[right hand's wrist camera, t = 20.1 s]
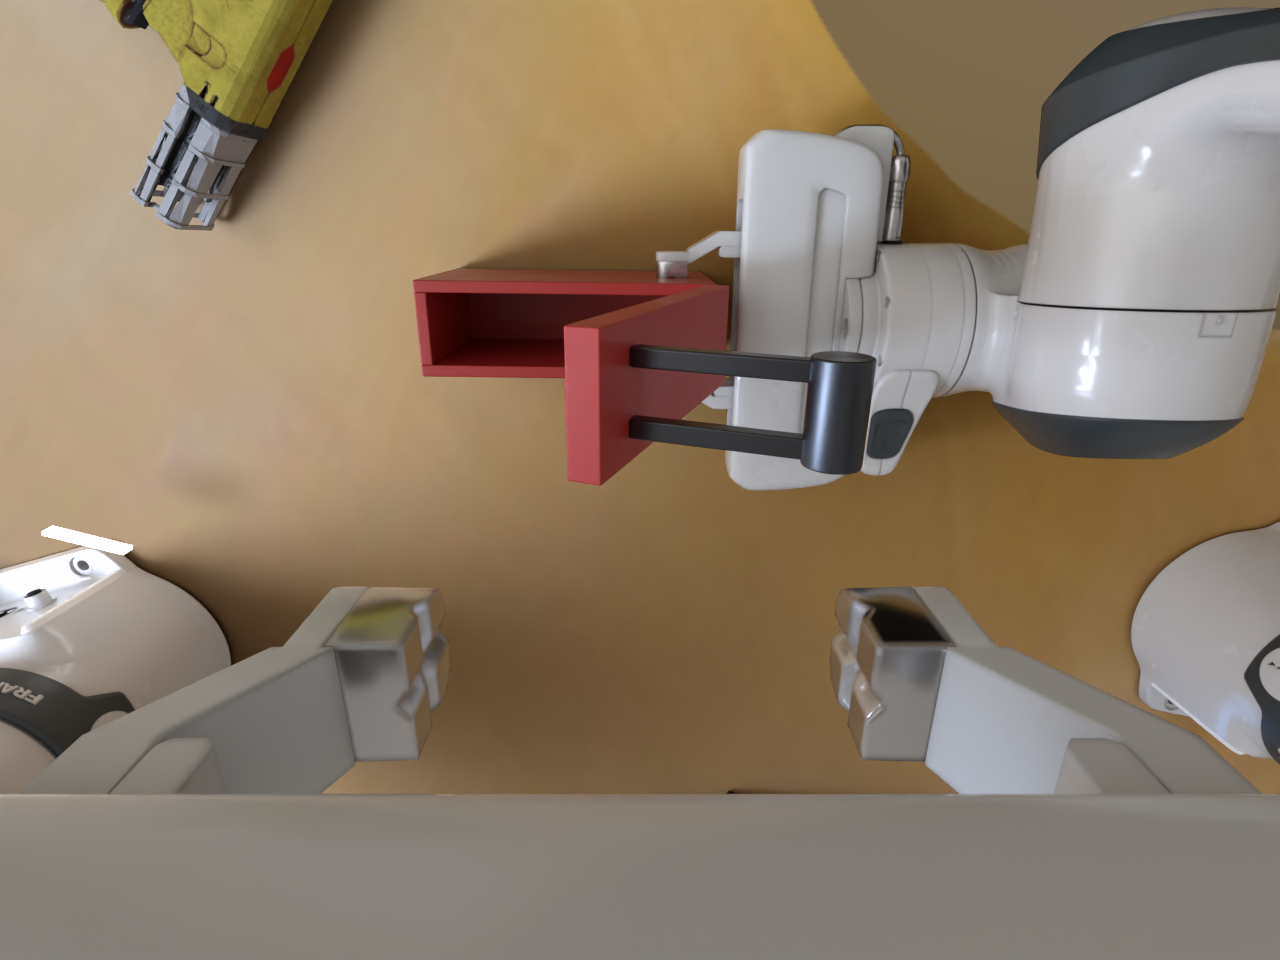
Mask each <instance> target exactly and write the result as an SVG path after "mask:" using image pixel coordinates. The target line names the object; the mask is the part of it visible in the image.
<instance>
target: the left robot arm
mask: <svg viewBox="0 0 1280 960" xmlns="http://www.w3.org/2000/svg"><path fill="white" fill-rule="evenodd" d="M893 145H894V146H895V149H896V155H897V156H892V154H893ZM1036 174H1037V179H1038V185H1037V192H1036V197H1035V203H1034V210H1033V216H1032V222H1031V228H1030V234H1029V240H1028V243H1025V244H1019V245H1015V246H1012V247H1009V248H1005V249H1001V250H981V249H977V248H974V247H972V246H968V245H965V244H958V243H903V242H901V238H902V232H903V222H904V213H905V208H904V206H905V202H904V201H905V197H904V196H905V190H906V183H907V182H908V180H909V175H910V156H908V155H904V147H903V143H902V141H901V139H900V137H899V136H898V134H897V133H896V132H895V131H894V130H893V129H891V128H889V127H887V126H884V125H850V126H847V127H845V128H843V129H841V130H840V131H838V132H837V133H836V134H835V135H834V136H832V135H826V134H821V133H813V132H806V131H796V130H781V129H766V130H761V131H759V132H757V133H756V134H754V135H753V136H752V137H751V138H750V139H749V140H748V141H747V142H746V143H745V144H744V145H743V146H742V148H741V150H740V152H739V166H738V188H737V210H736V231H715V232H713V233H712V234H710V235H708V236H707V237H705V238H703V239H702V240H700V241H698V242H697V243H695V244H693V245H692V246H690V247H688V248H687V250H686V251H656V278H670V277H671V276H672V277H674V278H685V279H687V275H688V264H690V263H692V262H693V261H695V260H697V259H699V258H700V257H702V256H704V255H705V254H707V253H709V252H710V251H712V250H714V249H716V255H717V256H719V257H724V258H734V276H733V297H732V319H731V341H730V351H736V352H750V353H763V354H776V355H789V356H802V357H811V355H812V354H814V353H817V352H823V351H846V352H856V353H862V354H867V355H870V356H873V357H875V358H876V360H877V364H876V371H875V378H874V385H873V393H872V400H871V407H870V415H869V422H868V429H867V436H866V444H865V451H864V458H863V466H862V468H861V470H860V471H861V472H863V473H865V474H867V475H875V476H878V475H879V476H880V475H887V474H889V473H891V472H892V471H893V470H894V468H895V467H896V465H897V464H898V462H899V460H900V458H901V456H902V453H903V451H904V449H905V447H906V445H907V443H908V441H909V439H910V437H911V435H912V433H913V431H914V429H915V427H916V425H917V423H918V421H919V419H920V417H921V415H922V414H923V412H924V410H925V408H926V406H927V405H928V403H929V401H930V400H931V398H932V397H945V396H949V395H953V394H957V393H961V392H966V391H984V392H989V393H991V395H992V397H993V401H992V403H993V405H994V406H995V408H996V409H997V410H998V411H999V413H1000V414H1001V415H1002V416H1003V417H1004V418H1005V419H1006V420H1007V421H1008V422H1009V423H1010V424H1011V425H1012V426H1013V427H1014V428H1015V429H1016V430H1017V431H1018V432H1019V433H1020V434H1021V435H1022V436H1023V437H1024V438H1025V439H1026V440H1027V441H1028V442H1029V443H1030V444H1031V445H1033V446H1035V447H1037V448H1039V449H1041V450H1044V451H1047V452H1050V453H1053V454H1057V455H1063V456H1071V457H1083V458H1112V459H1165V458H1172V457H1174V456H1177V455H1180V454H1182V453H1185V452H1188V451H1190V450H1192V449H1194V448H1197V447H1199V446H1201V445H1204V444H1206V443H1208V442H1210V441H1212V440H1214V439H1216V438H1218V437H1219V436H1221V435H1223V434H1224V433H1226V432H1228V431H1229V430H1230V429H1232V428H1233V427H1235V426H1236V425H1237V424H1238V423H1240V422H1241V421H1242V420H1243V419H1244V418H1243V415H1244V413H1245V411H1246V409H1247V406H1248V404H1249V402H1250V400H1251V398H1252V395H1253V392H1254V389H1255V386H1256V383H1257V379H1258V376H1259V372H1260V369H1261V366H1262V362H1263V359H1264V355H1265V352H1266V348H1267V345H1268V341H1269V338H1270V334H1271V331H1272V327H1273V324H1274V320H1275V317H1276V313H1277V309H1273V308H1276V306H1277V302H1278V299H1279V295H1280V8H1274V9H1270V8H1245V7H1240V8H1216V9H1206V10H1199V11H1192V12H1186V13H1180V14H1176V15H1172V16H1168V17H1164V18H1160V19H1156V20H1153V21H1150V22H1147V23H1144V24H1142V25H1139V26H1137V27H1134V28H1132V29H1130V30H1128V31H1125V32H1121V33H1118V34H1115V35H1112V36H1110V37H1108V38H1107V39H1106V40H1105V41H1103V42H1102V43H1101V44H1100V45H1099V46H1098V47H1096V48H1095V49H1094V50H1093V51H1092V52H1091V53H1090V54H1089V55H1087V56H1086V57H1085V58H1084V59H1083V60H1082V61H1081V62H1080V63H1079V64H1078V65H1077V66H1076V67H1075V68H1074V69H1073V70H1072V71H1071V72H1070V74H1069V75H1068V76H1067V77H1066V78H1065V79H1064V80H1063V81H1062V82H1061V83H1060V84H1059V86H1058V87H1057V88H1056V89H1055V90H1054V92H1053V93H1052V94H1051V95H1050V96H1049V97H1048V99H1047V100H1046V101H1045V102H1044V104H1043V106H1042V112H1041V124H1040V136H1039V148H1038V160H1037V172H1036ZM877 241H883V242H881V244H879V243H877ZM807 386H808V383H803V382H792V381H781V380H770V379H758V378H747V377H736V376H729V379H724V384H723V385H721V386H720V387H719V388H718V389H717V390H715V391H714V392H713V393H712V394H711V395H709V396H708V397H707V398H706V399H705V400H703V401H702V403H704V404H705V405H707V406H709V407H710V408H712V409H727V425H730V426H739V427H748V428H757V429H765V430H774V431H783V432H792V433H801V434H803V426H804V416H805V406H806V396H807ZM725 464H726V468H727V471H728V474H729V476H730V478H731V479H732V480H733V481H734V482H735V483H737V484H738V485H739V486H741V487H742V488H744V489H747V490H783V489H795V488H804V487H812V486H819V485H824V484H828V483H831V482H833V481H836V480H838V479H840V478H841V477H843V476H844V475H832V474H824V473H819V472H815V471H812V470H809V469H807V468H805V467H804V466H802V464H801V463H800V460H799V459H791V458H783V457H775V456H767V455H759V454H751V453H743V452H735V451H727V450H726V451H725ZM1131 642H1132V648H1133V651H1134V654H1135V656H1136V659H1137V661H1138V663H1139V666H1140V671H1141V674H1140V681H1139V690H1138V692H1139V698H1140V699H1141V701H1143V702H1144V703H1145V704H1147V705H1148V706H1149V707H1151V708H1152V709H1155V710H1159V711H1164V712H1169V713H1173V714H1178V715H1183V716H1188V717H1191V718H1192V719H1193V720H1194V721H1196V722H1197V723H1198V724H1199V725H1201V726H1202V727H1203V728H1204V729H1205V730H1207V731H1208V732H1209V733H1210V734H1212V735H1213V736H1214V737H1215V738H1217V739H1218V740H1219V741H1220V742H1222V743H1223V744H1224V745H1225V746H1226V747H1228V748H1229V749H1230V750H1232V751H1234V752H1235V753H1237V754H1239V755H1244V754H1248V755H1251V756H1254V757H1258V758H1265V759H1274V760H1275V761H1277V762H1278V763H1279V764H1280V521H1279V522H1277V523H1275V524H1273V525H1271V526H1268V527H1265V528H1261V529H1256V530H1248V531H1241V532H1235V533H1230V534H1226V535H1222V536H1219V537H1216V538H1213V539H1211V540H1208V541H1206V542H1203V543H1201V544H1199V545H1197V546H1195V547H1193V548H1192V549H1190V550H1188V551H1187V552H1185V553H1183V554H1182V555H1180V556H1179V557H1178V558H1176V559H1175V560H1174V561H1172V562H1171V563H1170V564H1169V565H1168V566H1166V567H1165V568H1164V569H1163V570H1162V571H1161V572H1160V573H1159V574H1158V575H1157V576H1156V577H1155V579H1154V580H1153V581H1152V582H1151V584H1150V585H1149V586H1148V588H1147V589H1146V590H1145V592H1144V594H1143V595H1142V597H1141V599H1140V601H1139V603H1138V605H1137V607H1136V610H1135V613H1134V616H1133V620H1132V626H1131Z"/></svg>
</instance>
